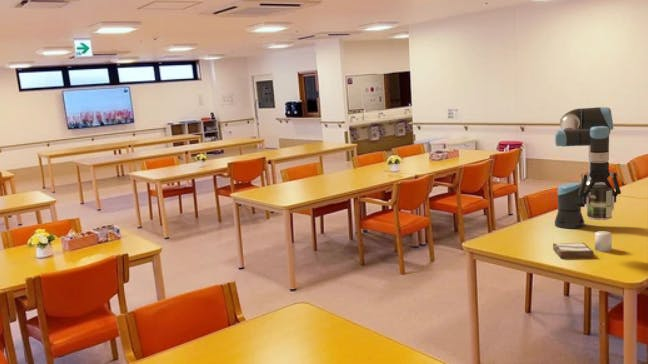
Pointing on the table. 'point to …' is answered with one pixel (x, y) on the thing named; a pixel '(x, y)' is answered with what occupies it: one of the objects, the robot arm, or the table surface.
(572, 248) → the picture frame
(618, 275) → the table surface
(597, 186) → the coffee can
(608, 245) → the cream egg shape
